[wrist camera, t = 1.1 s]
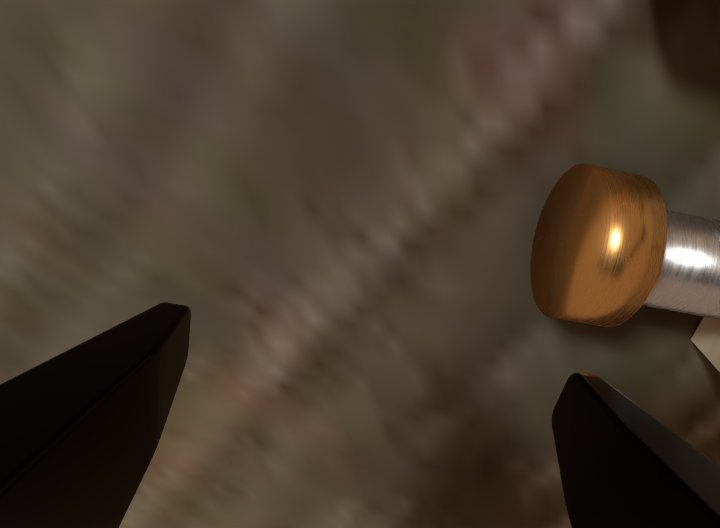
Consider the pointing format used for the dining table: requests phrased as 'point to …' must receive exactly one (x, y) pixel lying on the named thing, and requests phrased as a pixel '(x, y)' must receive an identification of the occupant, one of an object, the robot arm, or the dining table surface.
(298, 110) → the dining table surface
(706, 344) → the beech block
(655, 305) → the knob outer
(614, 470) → the robot arm
